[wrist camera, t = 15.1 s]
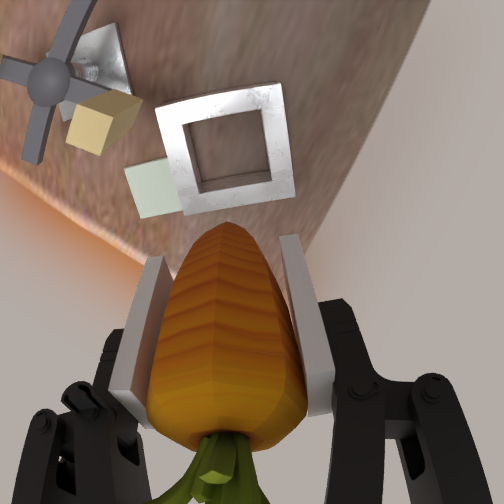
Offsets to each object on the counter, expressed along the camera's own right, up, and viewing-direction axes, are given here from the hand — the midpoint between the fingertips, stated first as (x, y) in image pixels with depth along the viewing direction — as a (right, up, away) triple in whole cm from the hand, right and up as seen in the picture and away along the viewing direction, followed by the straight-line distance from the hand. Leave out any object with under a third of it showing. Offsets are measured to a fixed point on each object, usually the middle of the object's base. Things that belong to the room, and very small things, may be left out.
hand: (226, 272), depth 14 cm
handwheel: (-14, +14, +5) cm, 21 cm away
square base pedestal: (-15, +18, +11) cm, 26 cm away
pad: (-9, +8, +19) cm, 22 cm away
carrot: (0, +2, +3) cm, 4 cm away
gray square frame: (-1, +11, +17) cm, 20 cm away
